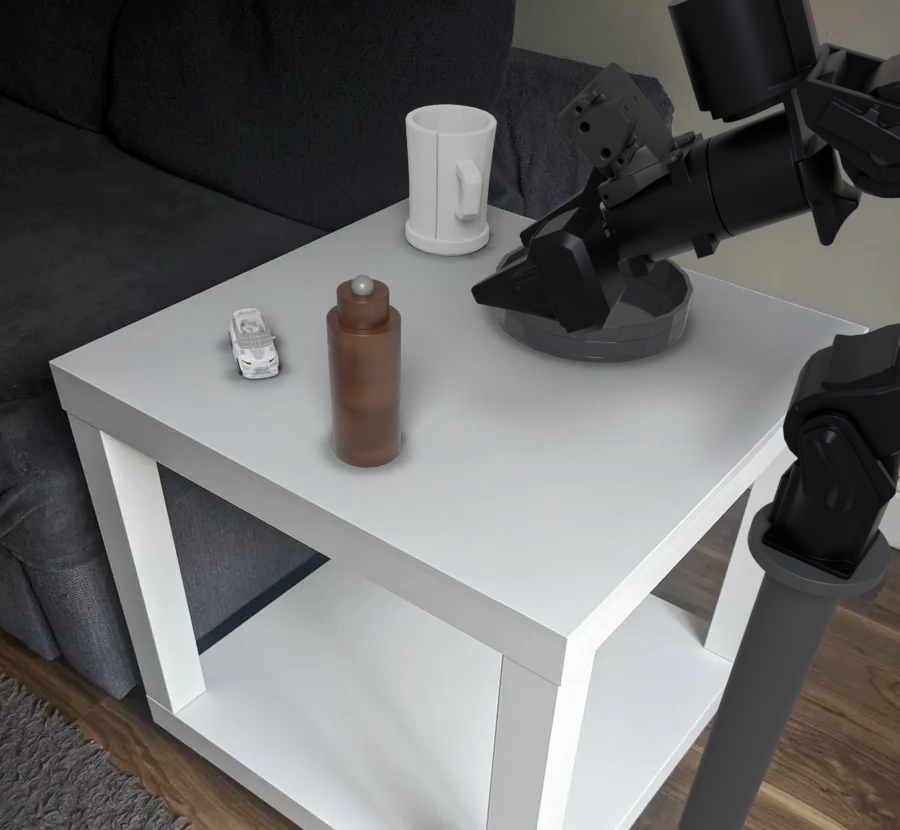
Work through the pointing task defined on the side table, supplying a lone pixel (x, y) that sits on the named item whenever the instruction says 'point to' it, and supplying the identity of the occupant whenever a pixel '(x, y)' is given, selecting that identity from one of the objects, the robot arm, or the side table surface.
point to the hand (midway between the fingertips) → (499, 266)
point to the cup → (449, 178)
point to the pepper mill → (365, 373)
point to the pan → (613, 318)
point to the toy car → (253, 345)
